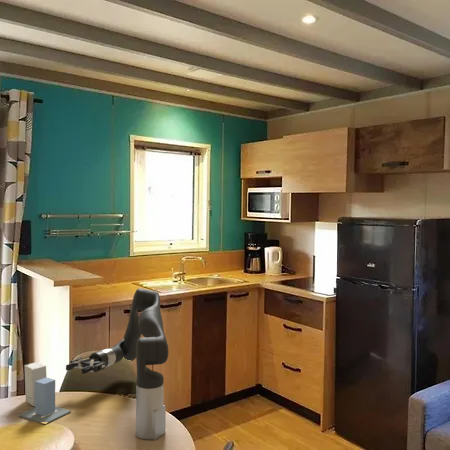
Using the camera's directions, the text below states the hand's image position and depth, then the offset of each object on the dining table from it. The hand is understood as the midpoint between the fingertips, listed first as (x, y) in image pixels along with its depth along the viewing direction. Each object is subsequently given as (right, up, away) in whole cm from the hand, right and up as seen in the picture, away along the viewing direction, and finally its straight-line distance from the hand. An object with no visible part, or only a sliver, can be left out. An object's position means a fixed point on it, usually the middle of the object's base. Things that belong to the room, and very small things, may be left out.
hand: (74, 369), depth 188 cm
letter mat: (-7, -13, -11) cm, 19 cm away
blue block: (-7, -12, -11) cm, 18 cm away
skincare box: (-15, -13, 0) cm, 20 cm away
